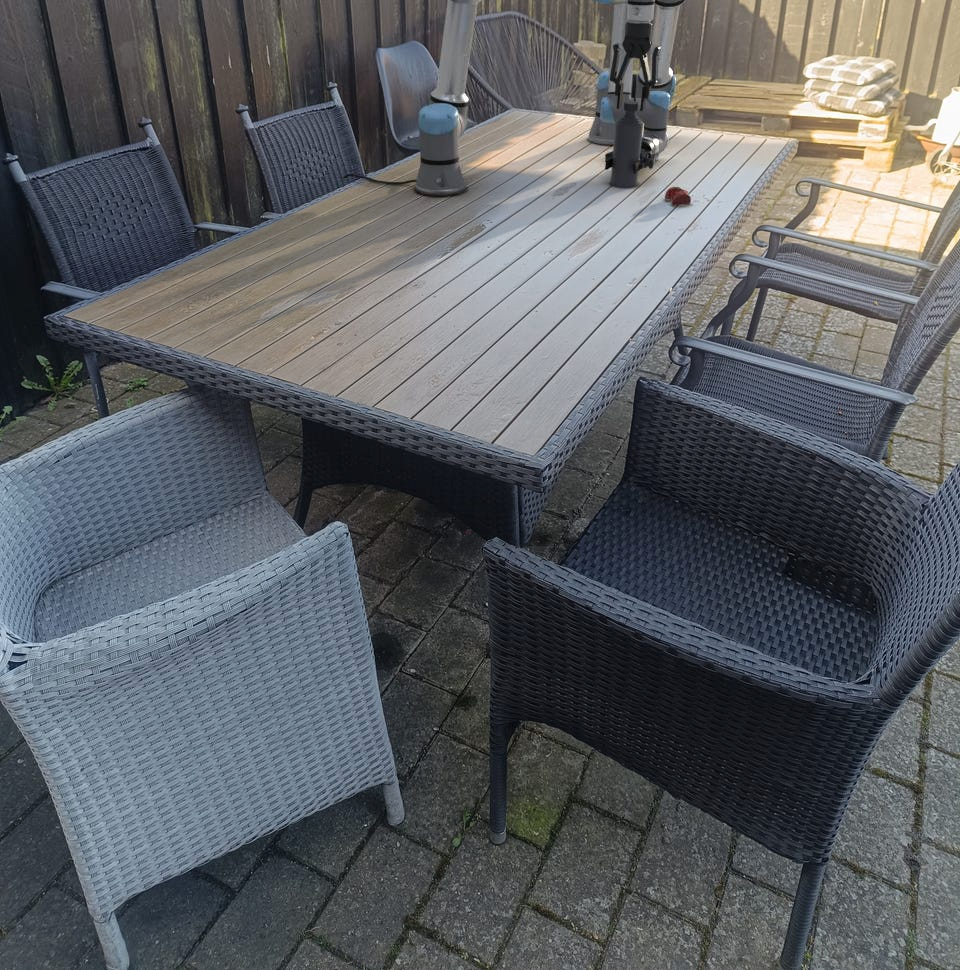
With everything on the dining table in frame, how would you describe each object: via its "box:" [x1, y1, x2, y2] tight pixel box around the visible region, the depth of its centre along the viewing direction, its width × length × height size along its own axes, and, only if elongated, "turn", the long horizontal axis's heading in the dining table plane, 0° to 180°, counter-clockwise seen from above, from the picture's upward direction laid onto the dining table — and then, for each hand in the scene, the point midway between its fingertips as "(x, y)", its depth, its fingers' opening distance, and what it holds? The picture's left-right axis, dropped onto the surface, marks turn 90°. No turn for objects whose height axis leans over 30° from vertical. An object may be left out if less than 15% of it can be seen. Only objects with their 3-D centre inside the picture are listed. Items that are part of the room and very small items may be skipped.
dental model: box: [664, 186, 692, 206], centre depth 247 cm, size 6×4×8 cm
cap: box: [624, 101, 639, 111], centre depth 250 cm, size 4×4×2 cm
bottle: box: [609, 111, 644, 189], centre depth 257 cm, size 8×8×23 cm
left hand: (630, 108), depth 251 cm, fingers open, 7 cm apart
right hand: (620, 167), depth 257 cm, fingers closed on bottle, 8 cm apart
